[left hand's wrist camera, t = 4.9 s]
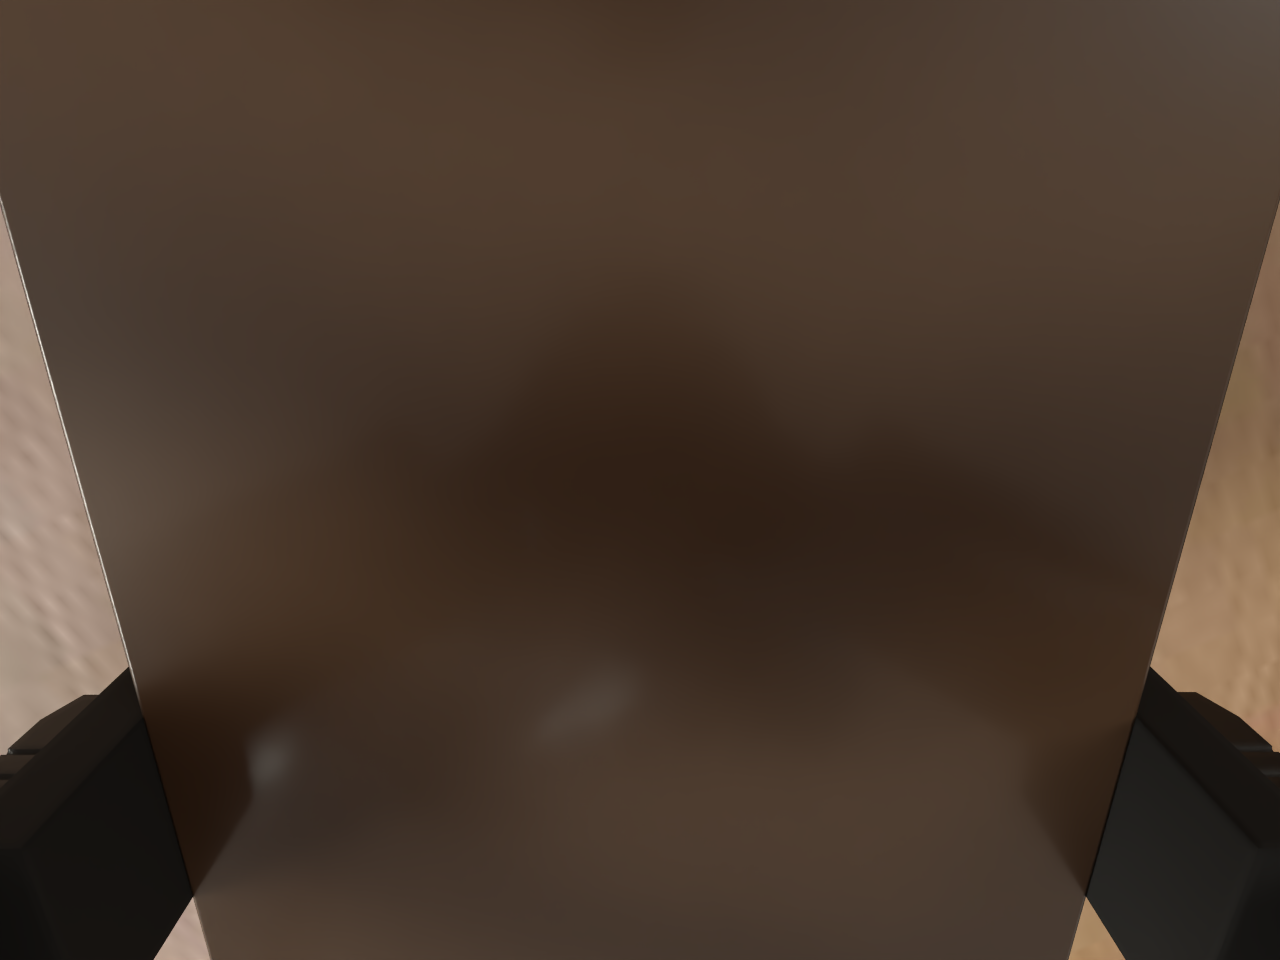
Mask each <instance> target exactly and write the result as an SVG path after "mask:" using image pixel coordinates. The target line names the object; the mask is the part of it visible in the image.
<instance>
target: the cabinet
mask: <svg viewBox="0 0 1280 960" xmlns="http://www.w3.org/2000/svg"><path fill="white" fill-rule="evenodd" d="M1279 200H1280V0H0V206H1V210H2V213H3V217H4V220H5V224H6V228H7V231H8V235H9V238H10V242H11V246H12V249H13V253H14V256H15V260H16V263H17V267H18V271H19V274H20V278H21V281H22V285H23V289H24V292H25V296H26V299H27V303H28V306H29V310H30V314H31V317H32V321H33V324H34V328H35V332H36V335H37V339H38V342H39V346H40V350H41V353H42V357H43V360H44V364H45V367H46V371H47V375H48V378H49V382H50V385H51V389H52V393H53V396H54V400H55V403H56V407H57V411H58V414H59V418H60V421H61V425H62V428H63V432H64V436H65V439H66V443H67V446H68V450H69V454H70V457H71V461H72V464H73V468H74V471H75V475H76V479H77V482H78V486H79V489H80V493H81V497H82V500H83V504H84V507H85V511H86V515H87V518H88V522H89V525H90V529H91V532H92V536H93V540H94V543H95V547H96V550H97V554H98V558H99V561H100V565H101V568H102V572H103V576H104V579H105V583H106V586H107V590H108V593H109V597H110V601H111V604H112V608H113V611H114V615H115V619H116V622H117V626H118V629H119V633H120V637H121V640H122V644H123V647H124V651H125V654H126V658H127V662H128V665H129V669H130V672H131V676H132V680H133V683H134V687H135V690H136V694H137V697H138V701H139V705H140V708H141V712H142V715H143V719H144V723H145V726H146V730H147V733H148V737H149V741H150V744H151V748H152V751H153V755H154V758H155V762H156V766H157V769H158V773H159V776H160V780H161V784H162V787H163V791H164V794H165V798H166V802H167V805H168V809H169V812H170V816H171V819H172V823H173V827H174V830H175V834H176V837H177V841H178V845H179V848H180V852H181V855H182V859H183V863H184V866H185V870H186V873H187V877H188V880H189V884H190V888H191V891H192V895H193V898H194V902H195V906H196V909H197V913H198V916H199V920H200V923H201V927H202V931H203V934H204V938H205V941H206V945H207V949H208V952H209V956H210V959H211V960H1068V959H1069V955H1070V951H1071V948H1072V944H1073V941H1074V937H1075V933H1076V930H1077V926H1078V923H1079V919H1080V915H1081V912H1082V908H1083V905H1084V901H1085V898H1086V894H1087V890H1088V887H1089V883H1090V880H1091V876H1092V872H1093V869H1094V865H1095V862H1096V858H1097V854H1098V851H1099V847H1100V844H1101V840H1102V836H1103V833H1104V829H1105V826H1106V822H1107V818H1108V815H1109V811H1110V808H1111V804H1112V801H1113V797H1114V793H1115V790H1116V786H1117V783H1118V779H1119V775H1120V772H1121V768H1122V765H1123V761H1124V757H1125V754H1126V750H1127V747H1128V743H1129V739H1130V736H1131V732H1132V729H1133V725H1134V721H1135V718H1136V714H1137V711H1138V707H1139V703H1140V700H1141V696H1142V693H1143V689H1144V686H1145V682H1146V678H1147V675H1148V671H1149V668H1150V664H1151V660H1152V657H1153V653H1154V650H1155V646H1156V642H1157V639H1158V635H1159V632H1160V628H1161V624H1162V621H1163V617H1164V614H1165V610H1166V606H1167V603H1168V599H1169V596H1170V592H1171V588H1172V585H1173V581H1174V578H1175V574H1176V571H1177V567H1178V563H1179V560H1180V556H1181V553H1182V549H1183V545H1184V542H1185V538H1186V535H1187V531H1188V527H1189V524H1190V520H1191V517H1192V513H1193V509H1194V506H1195V502H1196V499H1197V495H1198V491H1199V488H1200V484H1201V481H1202V477H1203V474H1204V470H1205V466H1206V463H1207V459H1208V456H1209V452H1210V448H1211V445H1212V441H1213V438H1214V434H1215V430H1216V427H1217V423H1218V420H1219V416H1220V412H1221V409H1222V405H1223V402H1224V398H1225V394H1226V391H1227V387H1228V384H1229V380H1230V376H1231V373H1232V369H1233V366H1234V362H1235V359H1236V355H1237V351H1238V348H1239V344H1240V341H1241V337H1242V333H1243V330H1244V326H1245V323H1246V319H1247V315H1248V312H1249V308H1250V305H1251V301H1252V297H1253V294H1254V290H1255V287H1256V283H1257V279H1258V276H1259V272H1260V269H1261V265H1262V261H1263V258H1264V254H1265V251H1266V247H1267V244H1268V240H1269V236H1270V233H1271V229H1272V226H1273V222H1274V218H1275V215H1276V211H1277V208H1278V204H1279Z"/></svg>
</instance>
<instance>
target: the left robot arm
mask: <svg viewBox="0 0 1280 960" xmlns="http://www.w3.org/2000/svg"><path fill="white" fill-rule="evenodd" d="M192 897H193V895H192V891H191V888H190V884H189V880H188V877H187V873H186V870H185V866H184V863H183V859H182V855H181V852H180V848H179V845H178V841H177V837H176V834H175V830H174V827H173V823H172V819H171V816H170V812H169V809H168V805H167V802H166V798H165V794H164V791H163V787H162V784H161V780H160V776H159V773H158V769H157V766H156V762H155V758H154V755H153V751H152V748H151V744H150V741H149V737H148V733H147V730H146V726H145V723H144V719H143V715H142V712H141V708H140V705H139V701H138V697H137V694H136V690H135V687H134V683H133V680H132V676H131V672H130V669H129V667H128V668H127V669H126V670H125V671H124V672H123V673H122V674H121V675H119V676H118V677H117V678H116V679H115V680H114V681H113V682H112V683H111V684H110V685H109V686H108V687H107V688H106V689H105V690H104V691H103V692H101V693H100V694H99V695H83V696H81V697H79V698H78V699H76V700H74V701H72V702H71V703H69V704H67V705H65V706H64V707H62V708H60V709H59V710H57V711H55V712H53V713H52V714H50V715H48V716H46V717H45V718H43V719H41V720H40V721H39V722H38V723H37V724H35V725H34V726H33V727H32V728H31V729H30V730H29V731H28V732H26V733H25V734H24V735H23V736H22V737H21V738H20V739H19V740H18V741H16V742H15V743H14V744H13V745H12V746H11V747H10V748H9V749H8V753H7V755H1V756H0V960H154V958H155V956H156V955H157V953H158V952H159V950H160V948H161V947H162V945H163V944H164V942H165V941H166V939H167V937H168V936H169V934H170V933H171V931H172V929H173V928H174V926H175V925H176V923H177V921H178V920H179V918H180V917H181V915H182V913H183V912H184V910H185V909H186V907H187V905H188V904H189V902H190V901H191V899H192ZM1086 897H1087V899H1088V900H1089V902H1090V904H1091V905H1092V907H1093V908H1094V910H1095V911H1096V913H1097V915H1098V916H1099V918H1100V919H1101V921H1102V923H1103V924H1104V926H1105V927H1106V929H1107V931H1108V932H1109V934H1110V935H1111V937H1112V939H1113V940H1114V942H1115V943H1116V945H1117V947H1118V948H1119V950H1120V951H1121V953H1122V955H1123V956H1124V958H1125V959H1126V960H1280V753H1279V752H1273V750H1272V746H1271V745H1270V744H1269V743H1268V742H1267V741H1266V740H1265V739H1263V738H1262V737H1261V736H1260V735H1259V734H1258V733H1257V732H1256V731H1254V730H1253V729H1252V728H1251V727H1250V726H1249V725H1248V724H1247V723H1245V722H1244V721H1243V720H1242V719H1241V718H1240V717H1238V716H1237V715H1235V714H1233V713H1231V712H1230V711H1228V710H1226V709H1224V708H1223V707H1221V706H1219V705H1217V704H1216V703H1214V702H1212V701H1210V700H1209V699H1207V698H1205V697H1203V696H1202V695H1200V694H1198V693H1196V692H1177V691H1175V690H1174V689H1173V688H1172V687H1171V686H1170V685H1169V684H1168V683H1167V682H1166V681H1165V680H1164V679H1163V678H1162V677H1161V676H1160V675H1159V674H1157V673H1156V672H1155V671H1154V670H1153V669H1152V668H1151V667H1150V668H1149V671H1148V675H1147V678H1146V682H1145V686H1144V689H1143V693H1142V696H1141V700H1140V703H1139V707H1138V711H1137V714H1136V718H1135V721H1134V725H1133V729H1132V732H1131V736H1130V739H1129V743H1128V747H1127V750H1126V754H1125V757H1124V761H1123V765H1122V768H1121V772H1120V775H1119V779H1118V783H1117V786H1116V790H1115V793H1114V797H1113V801H1112V804H1111V808H1110V811H1109V815H1108V818H1107V822H1106V826H1105V829H1104V833H1103V836H1102V840H1101V844H1100V847H1099V851H1098V854H1097V858H1096V862H1095V865H1094V869H1093V872H1092V876H1091V880H1090V883H1089V887H1088V890H1087V894H1086Z"/></svg>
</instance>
